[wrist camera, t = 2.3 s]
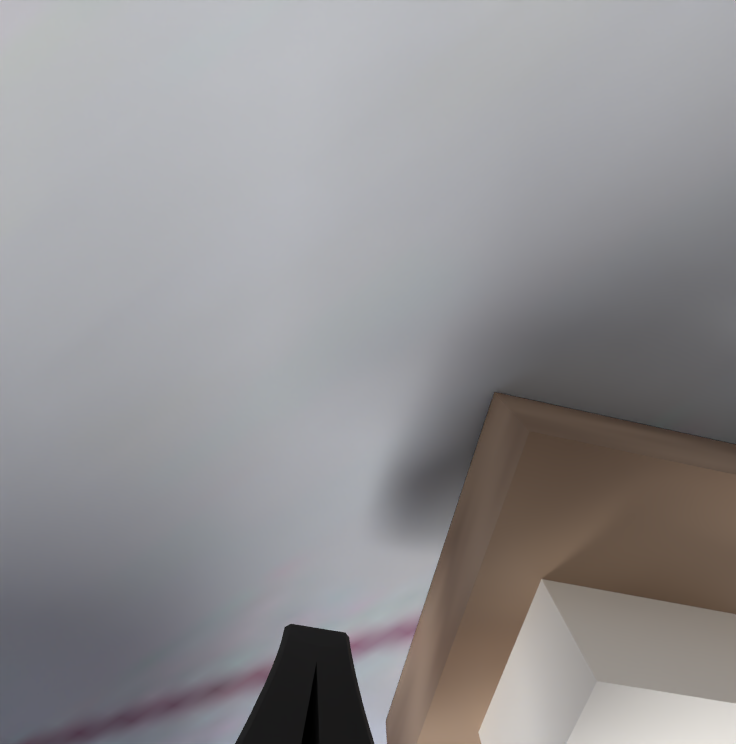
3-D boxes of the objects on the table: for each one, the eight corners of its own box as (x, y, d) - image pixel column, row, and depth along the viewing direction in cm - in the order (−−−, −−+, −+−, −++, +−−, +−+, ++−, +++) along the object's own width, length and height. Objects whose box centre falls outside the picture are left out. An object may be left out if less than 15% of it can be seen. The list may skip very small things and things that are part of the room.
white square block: (652, 757, 12) (725, 885, 10) (478, 732, 12) (509, 859, 9) (735, 614, 11) (842, 720, 8) (541, 578, 10) (597, 680, 8)
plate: (808, 783, 16) (885, 876, 14) (385, 721, 15) (391, 813, 13) (1011, 504, 13) (1157, 564, 11) (494, 391, 12) (530, 430, 9)
